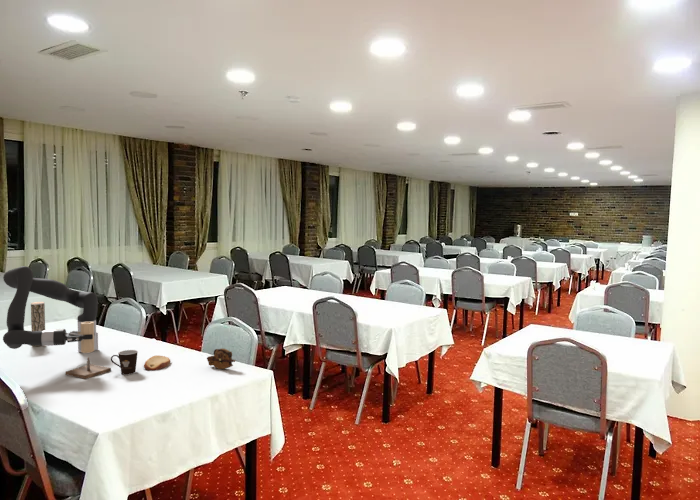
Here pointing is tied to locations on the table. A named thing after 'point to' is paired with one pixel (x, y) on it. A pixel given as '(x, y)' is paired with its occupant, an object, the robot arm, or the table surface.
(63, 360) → the table surface
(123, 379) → the table surface
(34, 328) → the paper tube
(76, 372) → the stand
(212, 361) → the wooden carving
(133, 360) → the coffee mug
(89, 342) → the cylinder
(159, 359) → the pita bread
